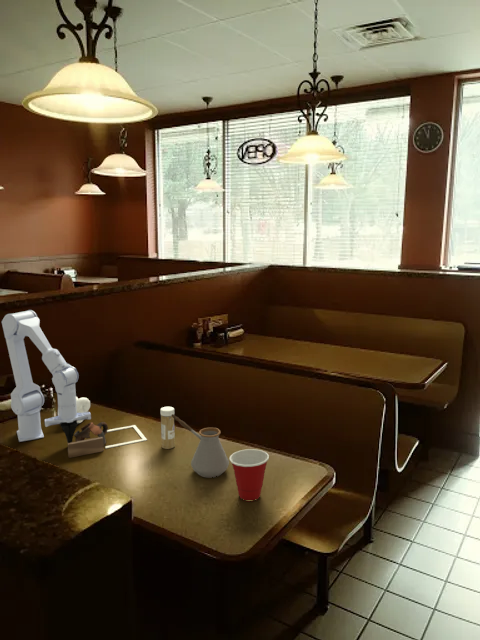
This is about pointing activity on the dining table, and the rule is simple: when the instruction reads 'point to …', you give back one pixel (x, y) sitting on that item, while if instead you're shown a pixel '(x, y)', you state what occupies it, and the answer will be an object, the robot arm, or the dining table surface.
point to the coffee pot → (207, 452)
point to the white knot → (82, 406)
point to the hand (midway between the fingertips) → (69, 442)
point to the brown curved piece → (94, 429)
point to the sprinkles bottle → (167, 427)
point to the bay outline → (130, 441)
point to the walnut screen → (85, 447)
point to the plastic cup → (249, 472)
